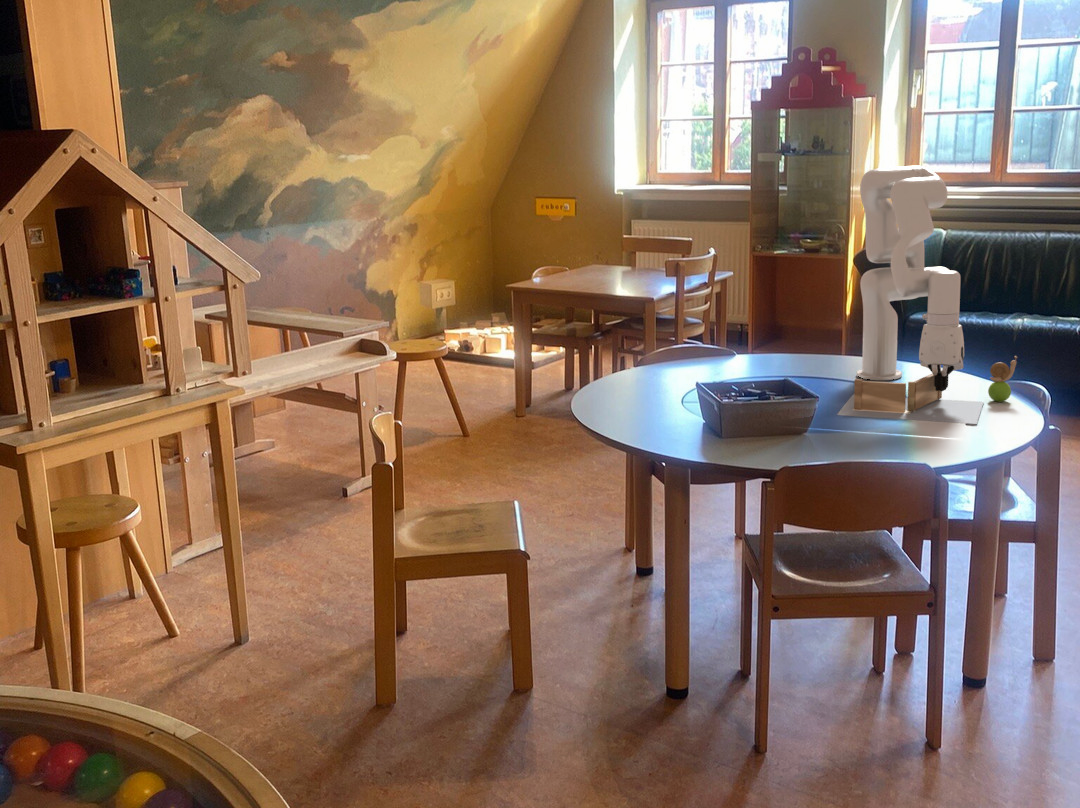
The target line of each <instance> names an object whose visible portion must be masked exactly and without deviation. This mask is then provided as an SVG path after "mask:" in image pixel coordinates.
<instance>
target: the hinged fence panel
mask: <svg viewBox="0 0 1080 808" xmlns="http://www.w3.org/2000/svg"><path fill="white" fill-rule="evenodd" d="M941 372H942V369H941ZM907 383H908V385H907V398H908V406H907V411H910V412H913V411H914V410H916V409H918V408H920V407H922V406H925V405H927V404H929V403H931V402H933V401H935V400H937V399H942V398H943V391H936V390H935V389H936V387H934V375H933V373H932V372H931V373H930V374H928V375H925V376H923V377H922V378H919V379H917V380H915V381H907Z"/></svg>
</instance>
